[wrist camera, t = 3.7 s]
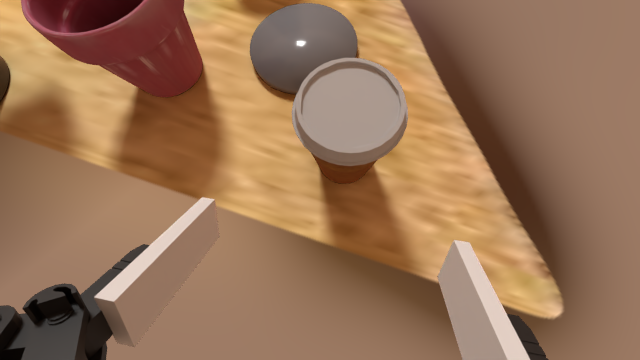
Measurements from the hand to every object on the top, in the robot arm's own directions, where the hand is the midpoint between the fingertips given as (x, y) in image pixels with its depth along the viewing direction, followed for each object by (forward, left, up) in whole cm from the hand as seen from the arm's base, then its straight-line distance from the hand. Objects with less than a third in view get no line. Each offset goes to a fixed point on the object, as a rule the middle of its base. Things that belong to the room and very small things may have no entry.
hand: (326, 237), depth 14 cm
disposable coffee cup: (-4, +10, -15) cm, 18 cm away
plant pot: (-32, +10, -15) cm, 36 cm away
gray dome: (-17, +22, -15) cm, 31 cm away
